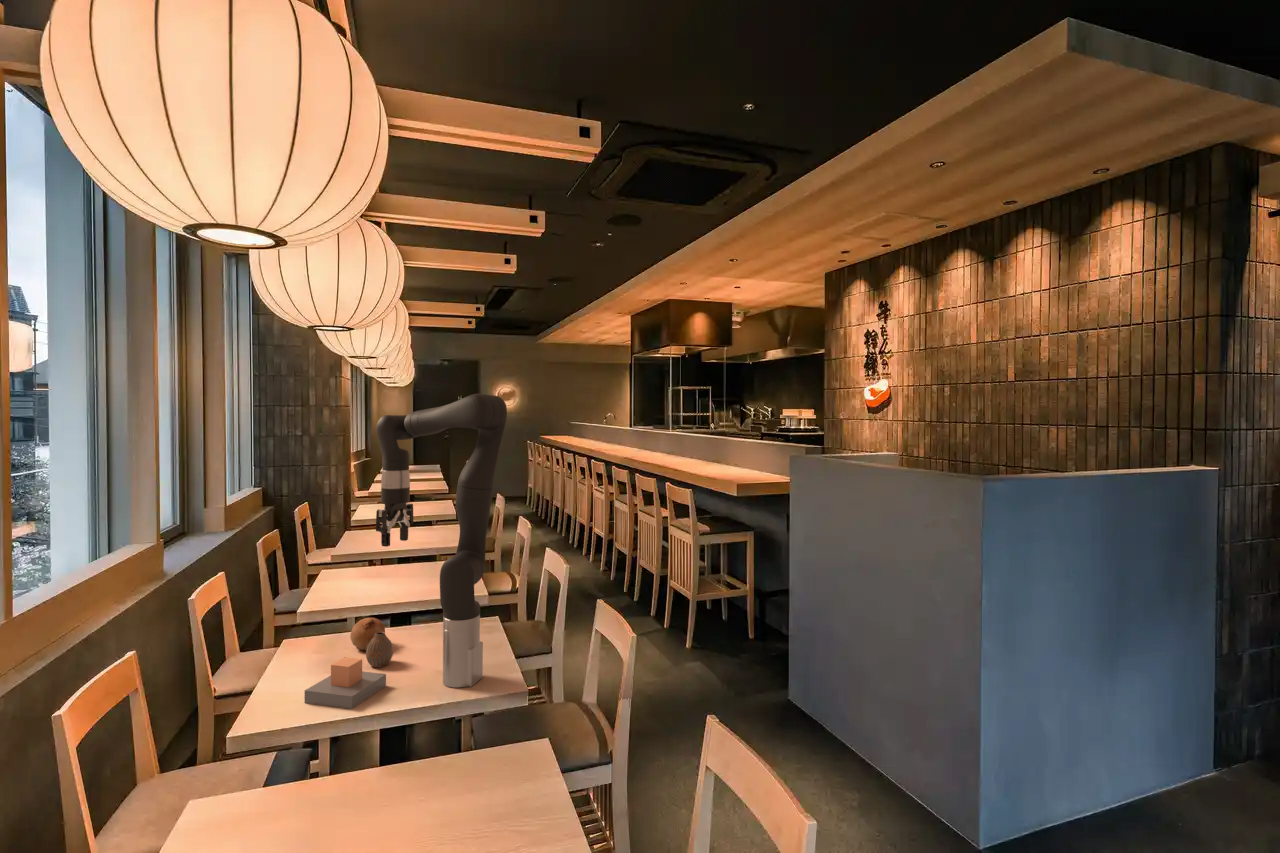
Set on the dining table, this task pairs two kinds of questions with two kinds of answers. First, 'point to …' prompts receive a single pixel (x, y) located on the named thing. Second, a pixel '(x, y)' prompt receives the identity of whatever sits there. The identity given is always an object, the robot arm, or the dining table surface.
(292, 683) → the dining table surface
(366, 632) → the brown round piece
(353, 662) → the block
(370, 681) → the block
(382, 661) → the vase
